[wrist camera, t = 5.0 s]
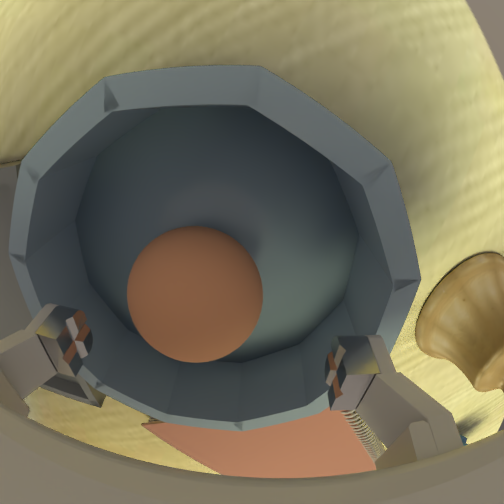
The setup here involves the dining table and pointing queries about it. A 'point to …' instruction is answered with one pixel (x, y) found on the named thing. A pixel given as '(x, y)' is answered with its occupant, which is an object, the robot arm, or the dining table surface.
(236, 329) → the ball
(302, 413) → the shallow grey bowl
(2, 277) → the tray
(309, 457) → the notebook
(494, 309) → the hand bell
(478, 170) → the dining table surface
